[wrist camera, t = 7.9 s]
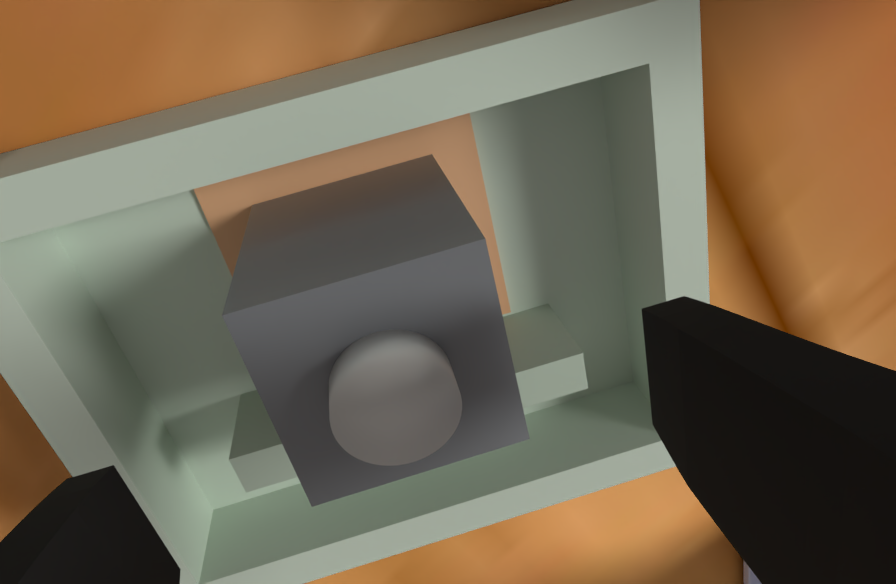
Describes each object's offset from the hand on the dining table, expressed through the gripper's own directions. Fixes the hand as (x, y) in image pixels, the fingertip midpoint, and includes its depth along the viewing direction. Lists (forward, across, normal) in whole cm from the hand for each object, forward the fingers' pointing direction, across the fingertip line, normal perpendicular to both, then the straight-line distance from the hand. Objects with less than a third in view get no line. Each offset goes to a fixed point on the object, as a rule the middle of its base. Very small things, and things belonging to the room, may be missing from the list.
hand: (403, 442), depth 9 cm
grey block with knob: (+7, 0, 0) cm, 7 cm away
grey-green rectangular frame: (+8, 0, +2) cm, 8 cm away
